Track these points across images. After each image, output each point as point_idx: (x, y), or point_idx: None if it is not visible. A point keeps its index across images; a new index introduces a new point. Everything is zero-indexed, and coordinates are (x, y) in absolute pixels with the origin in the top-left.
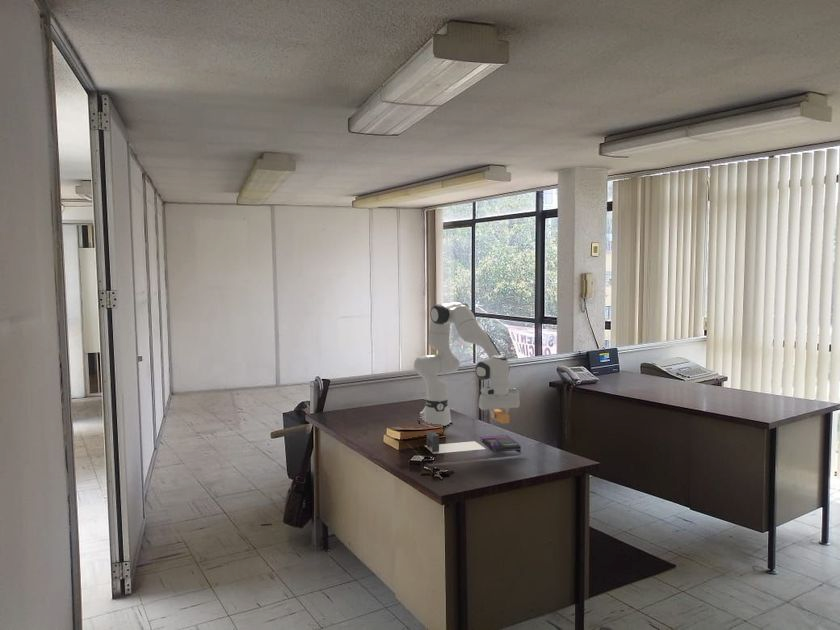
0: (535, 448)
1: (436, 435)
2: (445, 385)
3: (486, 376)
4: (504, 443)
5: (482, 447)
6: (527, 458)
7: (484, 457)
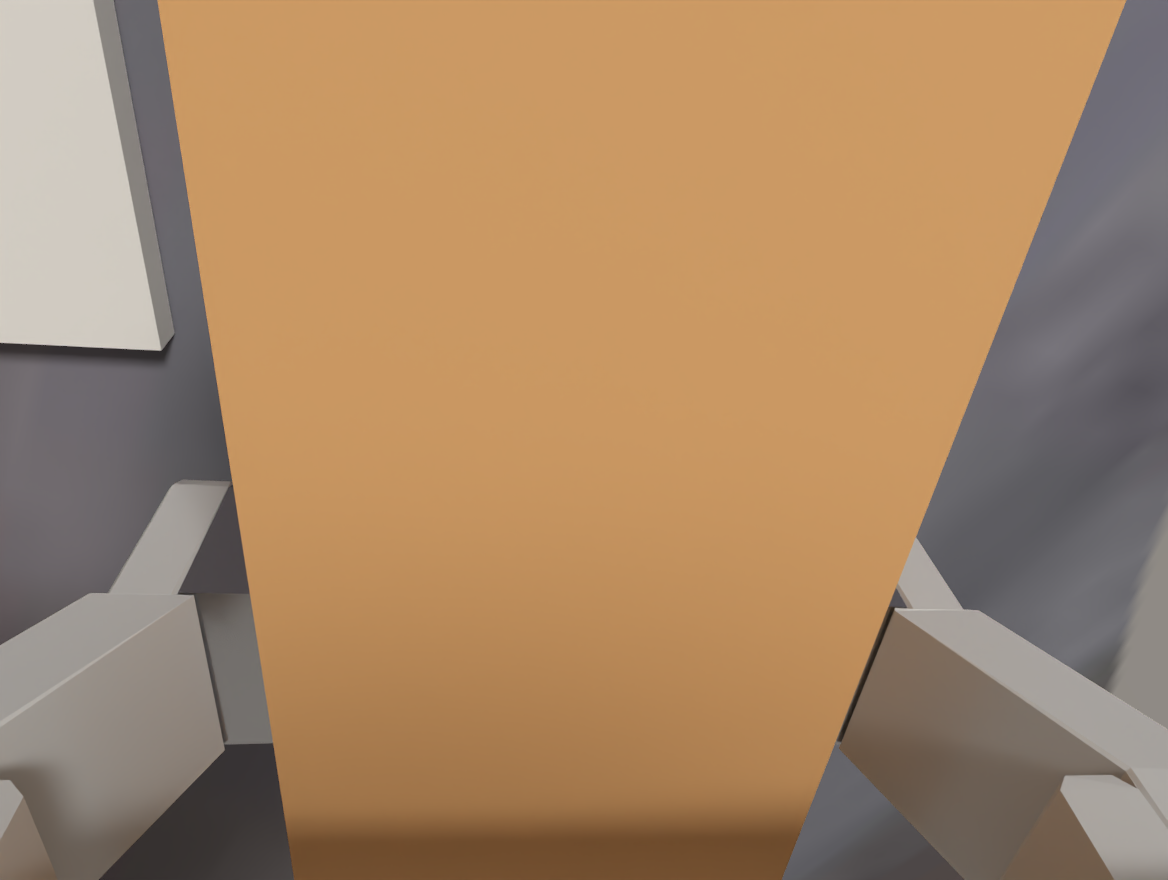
0: (991, 460)
1: None
2: None
3: None
4: None
5: (111, 246)
6: None
7: (69, 586)
